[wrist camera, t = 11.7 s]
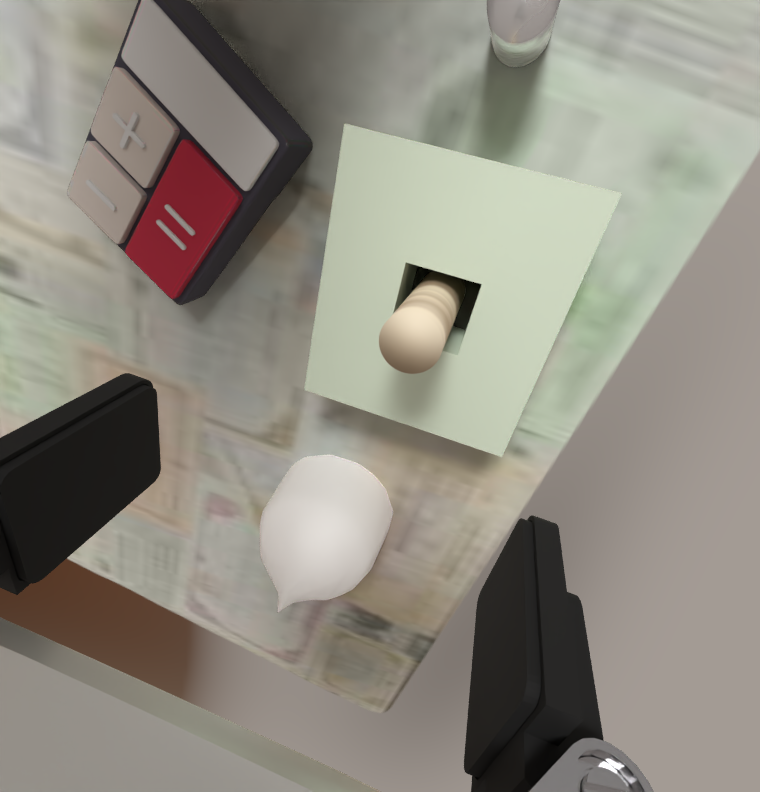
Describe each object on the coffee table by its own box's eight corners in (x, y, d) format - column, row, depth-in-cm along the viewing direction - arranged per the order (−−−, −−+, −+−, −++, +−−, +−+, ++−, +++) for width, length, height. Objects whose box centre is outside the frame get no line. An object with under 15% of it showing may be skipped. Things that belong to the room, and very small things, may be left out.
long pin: (427, 261, 29) (386, 303, 20) (471, 274, 29) (450, 323, 19) (416, 304, 30) (372, 362, 21) (457, 316, 30) (432, 381, 21)
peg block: (371, 131, 26) (344, 123, 22) (603, 190, 25) (621, 193, 20) (330, 363, 34) (304, 389, 30) (503, 419, 33) (501, 457, 28)
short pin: (503, -12, 22) (501, -56, 18) (562, 0, 22) (574, -43, 17) (483, 61, 24) (477, 35, 19) (538, 72, 23) (544, 49, 19)
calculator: (54, 194, 31) (133, -27, 23) (105, 190, 34) (189, -3, 26) (172, 311, 32) (285, 143, 24) (209, 295, 36) (317, 144, 28)
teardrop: (290, 537, 45) (224, 645, 35) (275, 446, 40) (192, 541, 30) (395, 556, 42) (356, 680, 32) (391, 461, 37) (345, 571, 27)
